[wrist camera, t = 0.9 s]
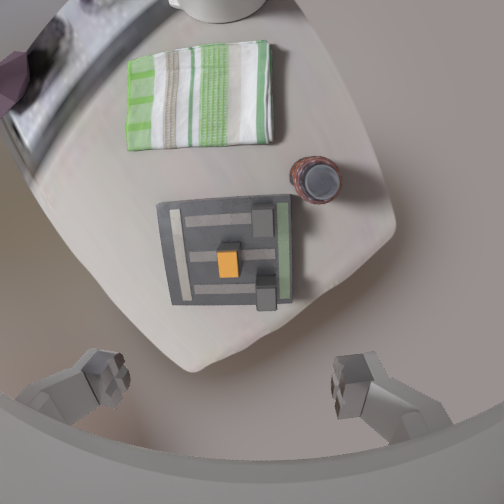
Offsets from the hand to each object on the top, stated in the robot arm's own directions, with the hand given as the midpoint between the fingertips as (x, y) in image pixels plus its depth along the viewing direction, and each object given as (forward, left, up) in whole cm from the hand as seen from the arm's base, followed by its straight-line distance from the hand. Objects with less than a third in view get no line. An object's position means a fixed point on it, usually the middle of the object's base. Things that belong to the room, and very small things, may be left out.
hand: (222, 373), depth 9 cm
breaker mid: (+6, -4, -32) cm, 32 cm away
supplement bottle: (-5, +8, -34) cm, 35 cm away
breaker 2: (+11, +1, -32) cm, 34 cm away
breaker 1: (0, +1, -32) cm, 32 cm away
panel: (+6, -5, -34) cm, 35 cm away
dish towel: (-19, -8, -35) cm, 40 cm away
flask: (-35, -51, -34) cm, 71 cm away
